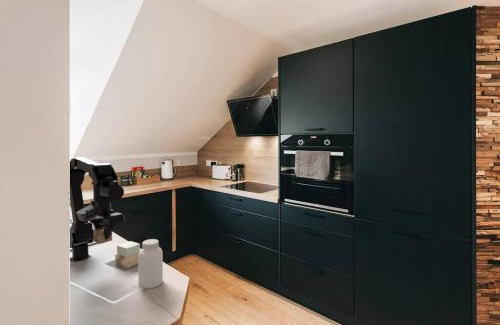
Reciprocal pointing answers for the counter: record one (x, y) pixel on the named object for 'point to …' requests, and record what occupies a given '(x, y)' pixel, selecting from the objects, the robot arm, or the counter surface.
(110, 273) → the counter surface
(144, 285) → the pill bottle
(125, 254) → the tower mid
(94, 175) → the robot arm
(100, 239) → the walnut block
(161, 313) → the counter surface
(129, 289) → the counter surface
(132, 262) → the tower base
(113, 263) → the slate board
